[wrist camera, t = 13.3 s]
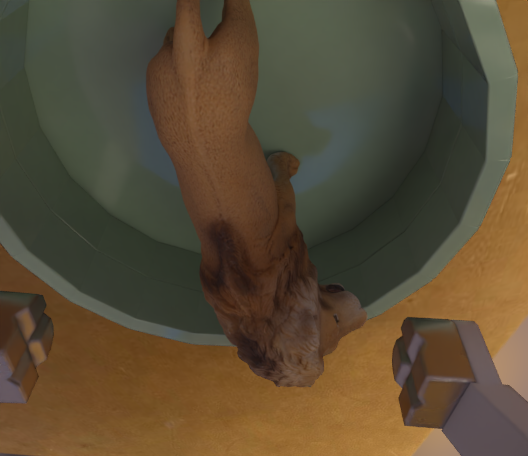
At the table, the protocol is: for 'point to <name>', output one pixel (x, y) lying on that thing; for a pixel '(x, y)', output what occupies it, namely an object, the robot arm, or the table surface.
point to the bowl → (270, 137)
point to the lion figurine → (242, 200)
